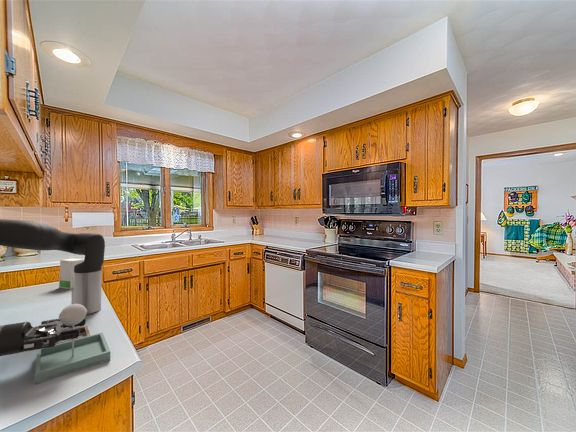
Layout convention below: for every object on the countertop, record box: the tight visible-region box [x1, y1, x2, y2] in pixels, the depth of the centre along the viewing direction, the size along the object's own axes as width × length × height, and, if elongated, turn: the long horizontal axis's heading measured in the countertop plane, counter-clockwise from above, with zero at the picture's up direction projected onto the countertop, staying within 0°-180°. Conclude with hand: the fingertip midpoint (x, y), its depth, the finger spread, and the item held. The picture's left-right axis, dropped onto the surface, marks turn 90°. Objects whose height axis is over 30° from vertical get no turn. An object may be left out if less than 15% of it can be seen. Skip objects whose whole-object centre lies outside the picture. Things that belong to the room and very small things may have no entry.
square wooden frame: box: [55, 325, 91, 345], centre depth 81 cm, size 10×10×2 cm
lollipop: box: [58, 304, 88, 357], centre depth 71 cm, size 6×6×15 cm
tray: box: [34, 332, 111, 385], centre depth 71 cm, size 15×15×2 cm
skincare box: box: [58, 257, 84, 290], centre depth 139 cm, size 8×7×16 cm
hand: (82, 326), depth 72 cm, fingers open, 8 cm apart
